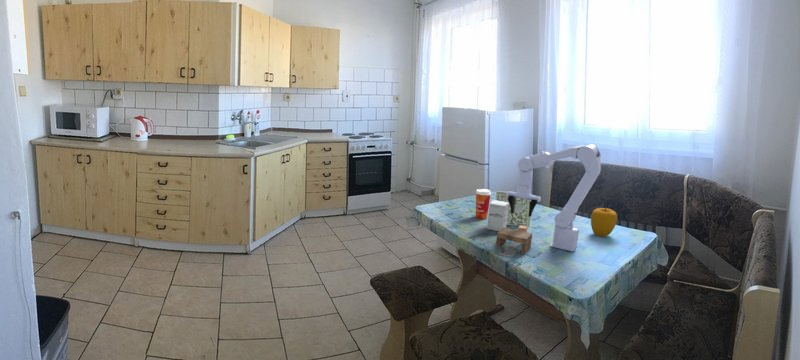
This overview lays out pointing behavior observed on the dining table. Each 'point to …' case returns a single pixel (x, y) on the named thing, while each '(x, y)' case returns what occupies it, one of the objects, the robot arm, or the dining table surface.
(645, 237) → the dining table surface
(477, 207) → the paper cup
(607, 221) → the apple
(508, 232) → the walnut shelf
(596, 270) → the dining table surface
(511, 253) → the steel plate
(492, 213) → the supplement box
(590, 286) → the dining table surface
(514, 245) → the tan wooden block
